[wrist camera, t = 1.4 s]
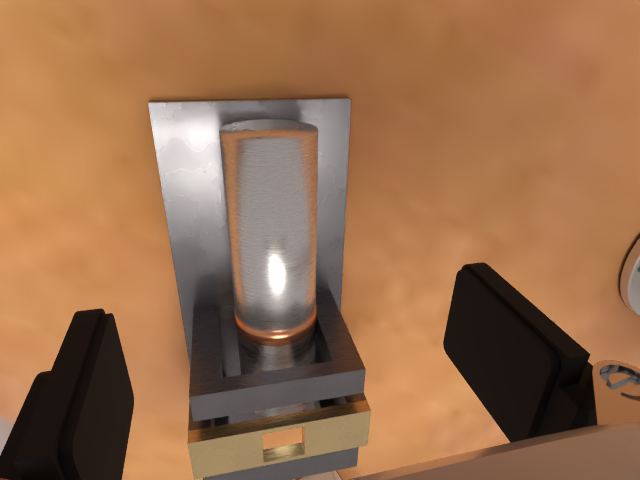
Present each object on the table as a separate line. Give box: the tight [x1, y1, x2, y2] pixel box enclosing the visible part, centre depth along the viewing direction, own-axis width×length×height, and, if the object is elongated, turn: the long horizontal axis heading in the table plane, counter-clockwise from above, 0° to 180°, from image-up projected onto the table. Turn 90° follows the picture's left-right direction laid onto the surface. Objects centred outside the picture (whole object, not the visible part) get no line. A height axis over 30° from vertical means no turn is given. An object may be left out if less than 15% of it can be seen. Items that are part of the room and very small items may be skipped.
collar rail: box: [148, 97, 371, 480], centre depth 26 cm, size 11×25×9 cm, turn 179°
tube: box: [219, 119, 318, 417], centre depth 26 cm, size 18×5×5 cm, turn 179°
